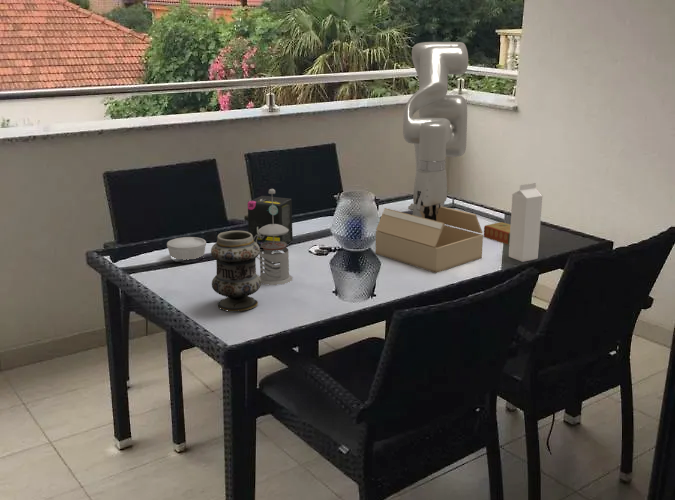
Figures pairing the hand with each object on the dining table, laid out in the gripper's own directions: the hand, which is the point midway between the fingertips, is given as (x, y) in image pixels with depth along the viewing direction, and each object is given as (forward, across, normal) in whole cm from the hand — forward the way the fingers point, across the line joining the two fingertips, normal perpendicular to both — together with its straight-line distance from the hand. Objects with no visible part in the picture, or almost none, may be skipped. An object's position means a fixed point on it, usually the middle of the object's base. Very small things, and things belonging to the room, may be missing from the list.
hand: (430, 227), depth 221 cm
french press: (+9, +47, -15) cm, 50 cm away
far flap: (-2, -8, 0) cm, 8 cm away
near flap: (-2, +9, 0) cm, 9 cm away
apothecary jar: (+9, +65, -5) cm, 65 cm away
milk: (+9, -18, +20) cm, 29 cm away
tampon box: (+9, +29, -40) cm, 50 cm away
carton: (+9, -30, +7) cm, 33 cm away
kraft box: (+9, +1, 0) cm, 9 cm away
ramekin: (+9, +55, -46) cm, 72 cm away
